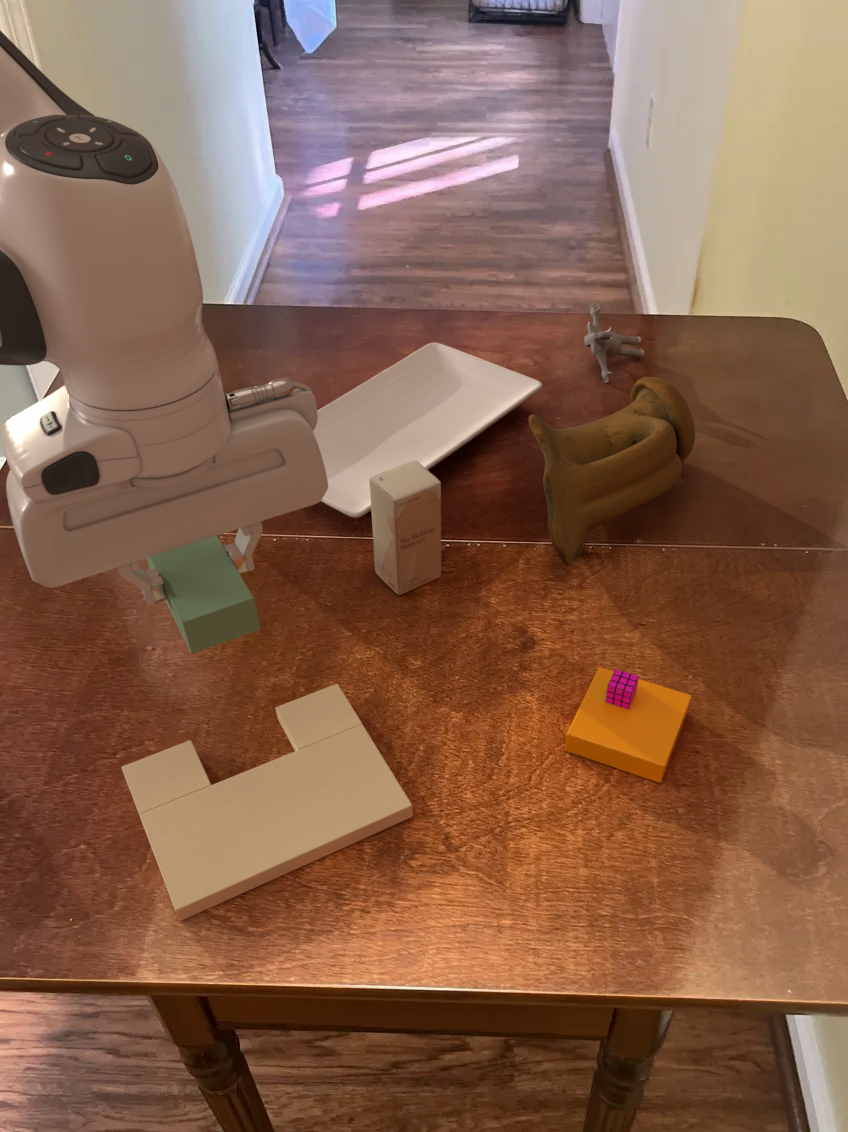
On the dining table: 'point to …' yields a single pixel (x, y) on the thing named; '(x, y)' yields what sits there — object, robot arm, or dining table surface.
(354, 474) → the tray
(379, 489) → the box
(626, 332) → the dining table surface
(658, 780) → the orange square pedestal
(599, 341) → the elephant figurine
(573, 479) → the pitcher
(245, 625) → the pad
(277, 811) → the beige notched block
